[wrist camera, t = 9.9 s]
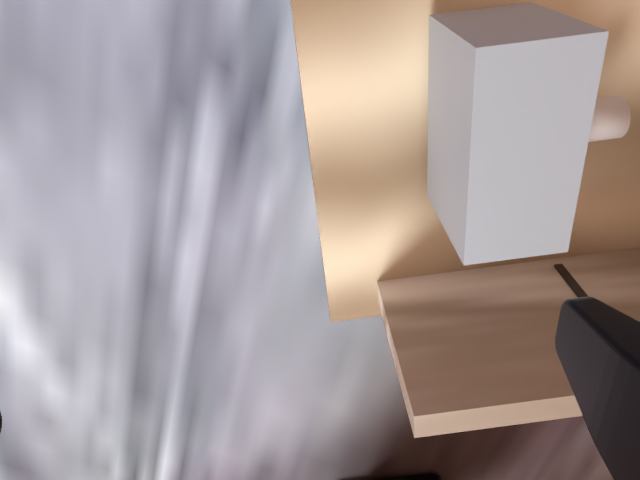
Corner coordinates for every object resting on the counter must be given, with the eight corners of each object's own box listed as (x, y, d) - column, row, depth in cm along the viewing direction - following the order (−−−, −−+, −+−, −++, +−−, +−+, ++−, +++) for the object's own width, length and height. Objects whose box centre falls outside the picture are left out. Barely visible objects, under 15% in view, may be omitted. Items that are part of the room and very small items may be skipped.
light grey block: (567, 178, 18) (636, 243, 15) (427, 196, 18) (463, 265, 15) (599, -7, 15) (697, 20, 12) (428, 14, 15) (475, 48, 12)
